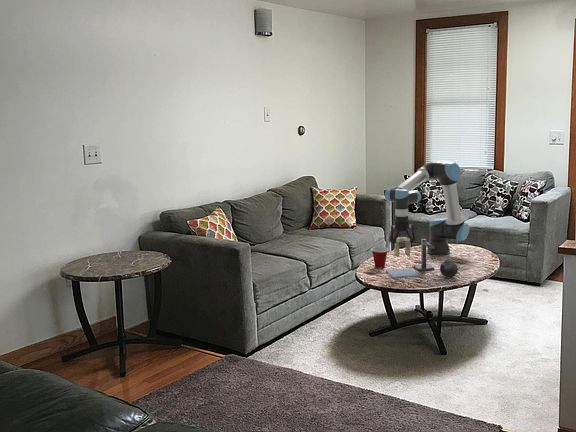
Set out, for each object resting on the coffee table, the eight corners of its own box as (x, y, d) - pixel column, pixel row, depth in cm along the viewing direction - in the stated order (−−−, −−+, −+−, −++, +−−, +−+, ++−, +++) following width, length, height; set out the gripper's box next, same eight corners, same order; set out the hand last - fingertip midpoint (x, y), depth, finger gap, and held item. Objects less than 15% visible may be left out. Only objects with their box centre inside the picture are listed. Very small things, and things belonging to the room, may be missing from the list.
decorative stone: (437, 278, 365) (437, 261, 364) (444, 274, 373) (444, 257, 371) (453, 280, 359) (453, 263, 357) (460, 276, 367) (460, 259, 365)
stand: (429, 266, 392) (429, 237, 389) (440, 275, 371) (441, 244, 368) (413, 267, 392) (413, 238, 388) (424, 276, 370) (424, 245, 367)
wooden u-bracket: (407, 253, 378) (407, 236, 376) (409, 255, 373) (409, 238, 371) (394, 254, 377) (394, 237, 375) (396, 256, 372) (396, 239, 370)
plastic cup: (378, 270, 388) (377, 251, 385) (368, 266, 397) (367, 248, 395) (392, 267, 392) (392, 248, 390) (382, 264, 402) (381, 245, 400)
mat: (411, 269, 385) (411, 268, 385) (419, 276, 370) (419, 275, 369) (386, 271, 384) (385, 269, 384) (392, 278, 368) (392, 276, 368)
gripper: (386, 217, 366) (386, 255, 370) (421, 215, 368) (421, 253, 372) (382, 215, 374) (383, 252, 377) (417, 213, 375) (417, 250, 379)
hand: (402, 253), depth 375 cm, fingers closed on wooden u-bracket, 8 cm apart
